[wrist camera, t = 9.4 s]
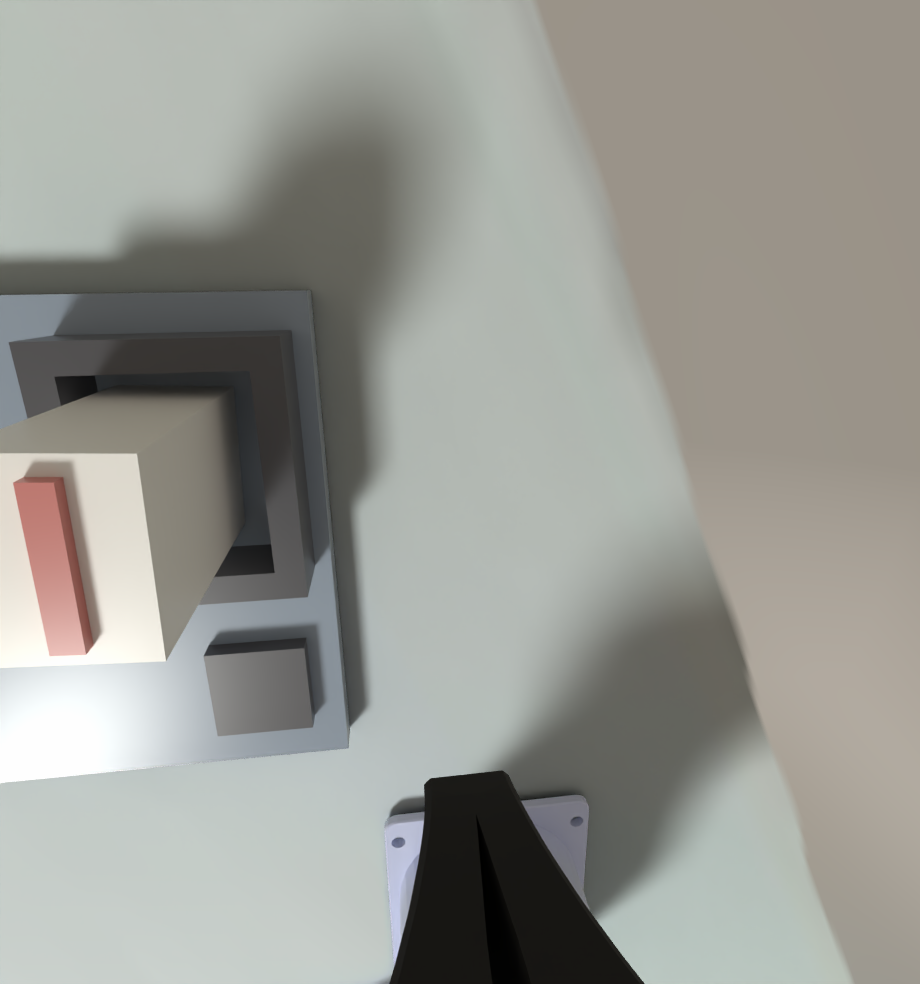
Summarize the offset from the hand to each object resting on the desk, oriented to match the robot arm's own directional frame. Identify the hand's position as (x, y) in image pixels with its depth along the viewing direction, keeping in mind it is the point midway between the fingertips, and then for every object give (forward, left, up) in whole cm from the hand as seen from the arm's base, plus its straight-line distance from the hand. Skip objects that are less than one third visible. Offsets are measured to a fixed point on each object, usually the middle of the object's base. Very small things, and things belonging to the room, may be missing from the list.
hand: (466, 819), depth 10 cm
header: (+4, +6, -9) cm, 12 cm away
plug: (+4, +7, -9) cm, 12 cm away
